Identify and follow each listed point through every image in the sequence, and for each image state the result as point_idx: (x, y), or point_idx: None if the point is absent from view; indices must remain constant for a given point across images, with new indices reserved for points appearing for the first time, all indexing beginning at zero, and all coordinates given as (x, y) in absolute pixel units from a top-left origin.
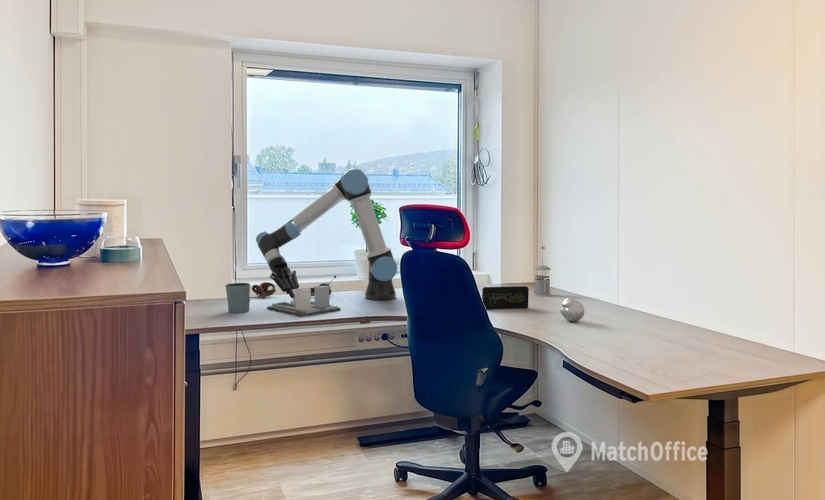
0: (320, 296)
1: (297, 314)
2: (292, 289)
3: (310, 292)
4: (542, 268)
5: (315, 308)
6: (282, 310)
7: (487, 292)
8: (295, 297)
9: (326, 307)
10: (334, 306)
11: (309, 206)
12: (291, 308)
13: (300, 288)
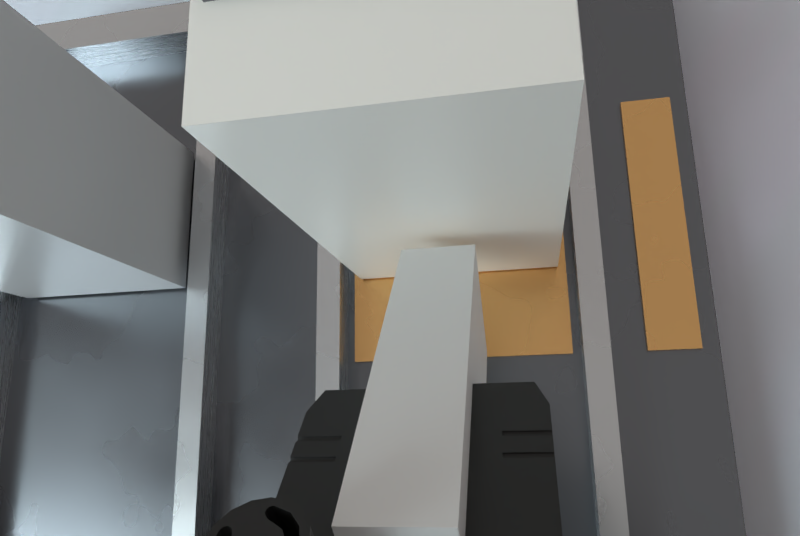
0: (69, 58)
1: (672, 38)
2: (445, 515)
3: None
4: None
5: (234, 211)
6: (734, 458)
7: None
8: (567, 190)
9: (182, 15)
10: (64, 21)
11: None
12: (608, 326)
13: (367, 93)
